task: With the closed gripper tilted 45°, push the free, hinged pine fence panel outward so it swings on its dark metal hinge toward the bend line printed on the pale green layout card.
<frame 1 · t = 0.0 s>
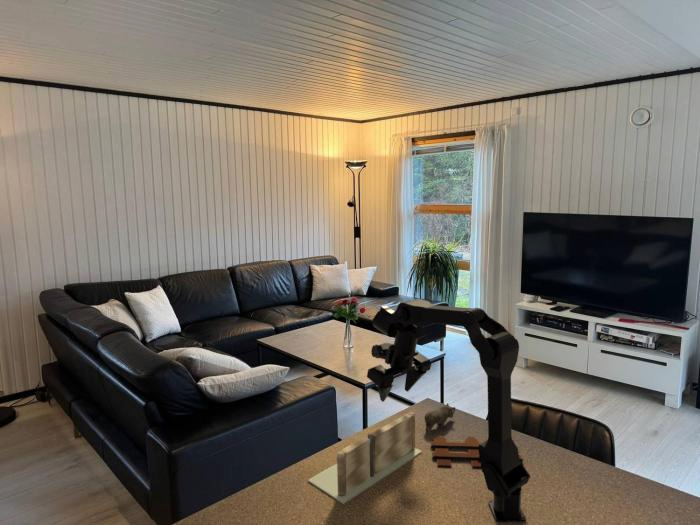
hand: (394, 395, 131), 15 cm above the table, tool pointing down, fingers open, 9 cm apart
layout card: (371, 476, 121), on the table
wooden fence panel: (356, 464, 116), on the layout card
decorative fence: (474, 455, 131), on the table
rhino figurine: (441, 426, 146), on the table
hinged fence panel: (394, 441, 126), point 6 cm above the table, hinge at 0.0°
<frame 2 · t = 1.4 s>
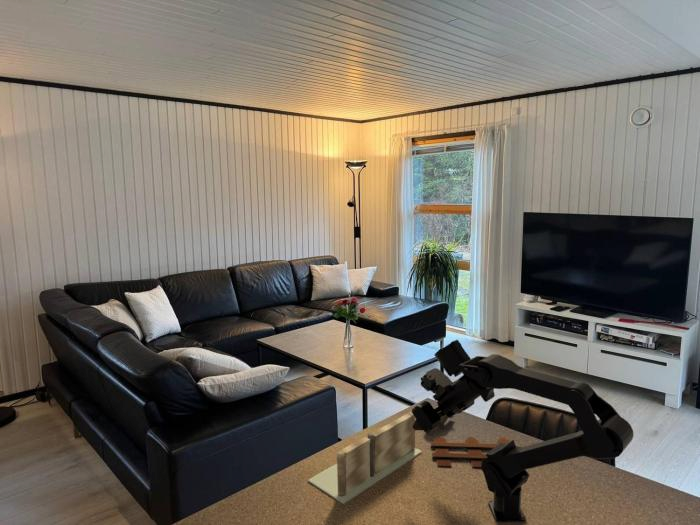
hand: (424, 421, 121), 13 cm above the table, tool tilted 45°, fingers open, 8 cm apart
nothing on the table moved.
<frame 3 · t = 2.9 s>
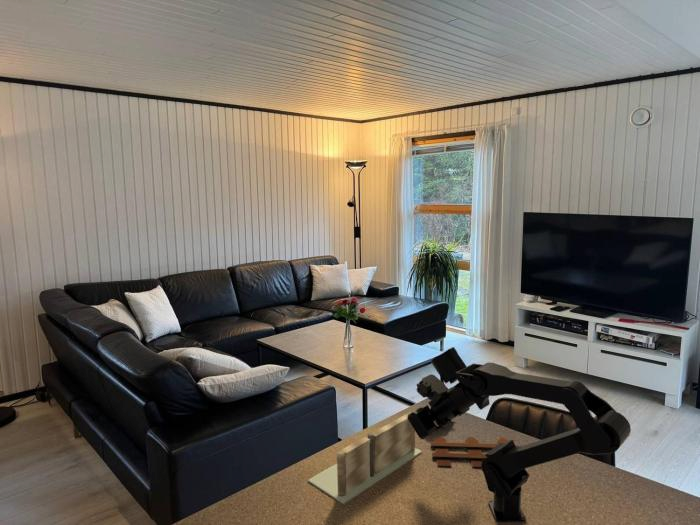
hand: (420, 426, 122), 12 cm above the table, tool tilted 45°, fingers closed
nothing on the table moved.
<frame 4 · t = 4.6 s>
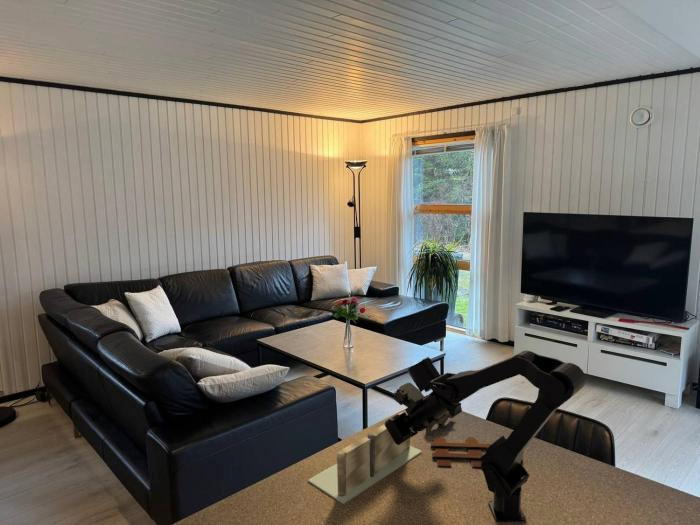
hand: (398, 432, 128), 7 cm above the table, tool tilted 45°, fingers closed, pressing on hinged fence panel
hinged fence panel: (391, 440, 127), point 6 cm above the table, hinge at 5.9°, touching gripper
everything else where it was.
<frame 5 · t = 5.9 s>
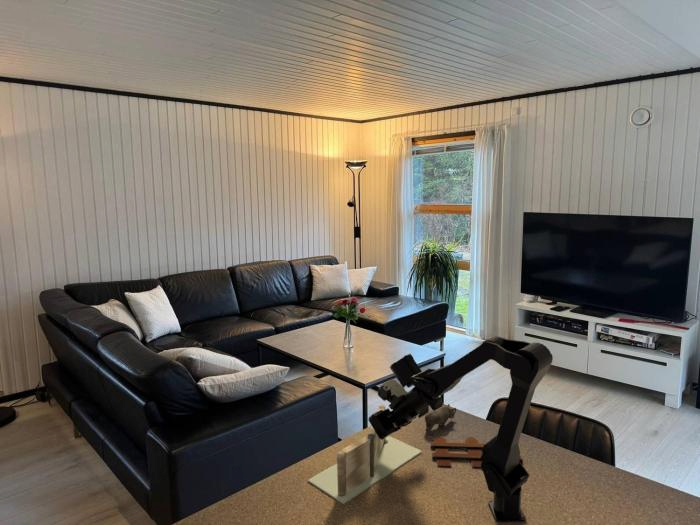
hand: (383, 428, 131), 7 cm above the table, tool tilted 45°, fingers closed
hinged fence panel: (377, 436, 129), point 6 cm above the table, hinge at 31.4°, touching gripper
everything else where it was.
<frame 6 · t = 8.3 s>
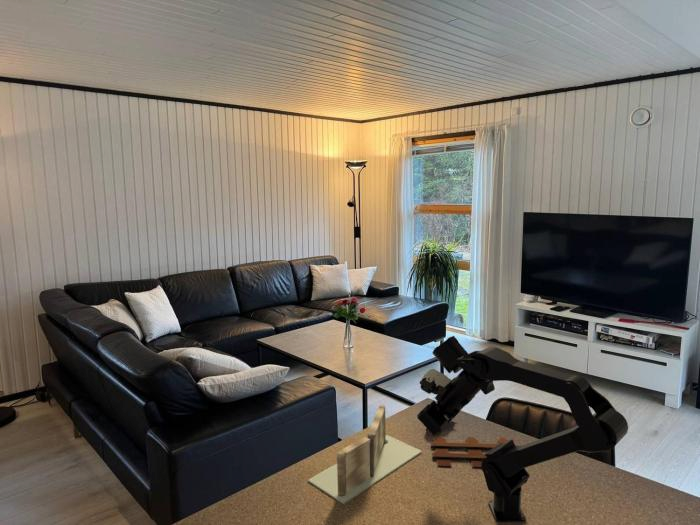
hand: (429, 423, 120), 13 cm above the table, tool tilted 40°, fingers closed
hinged fence panel: (377, 436, 129), point 6 cm above the table, hinge at 31.4°
everything else where it was.
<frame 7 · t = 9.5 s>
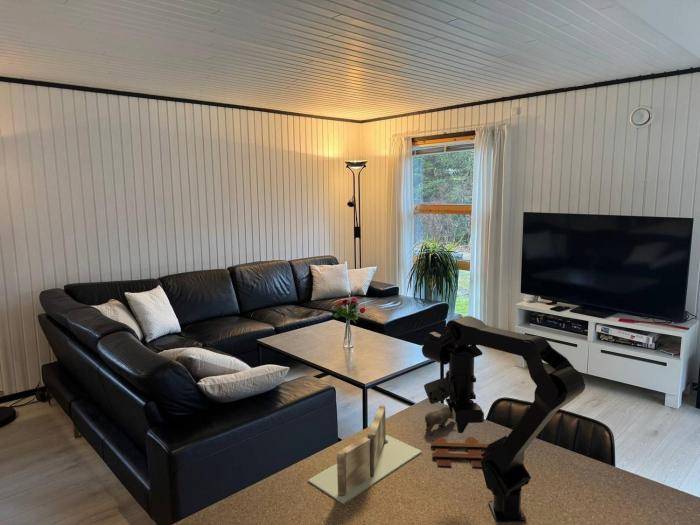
hand: (460, 432, 116), 13 cm above the table, tool pointing down, fingers closed
nothing on the table moved.
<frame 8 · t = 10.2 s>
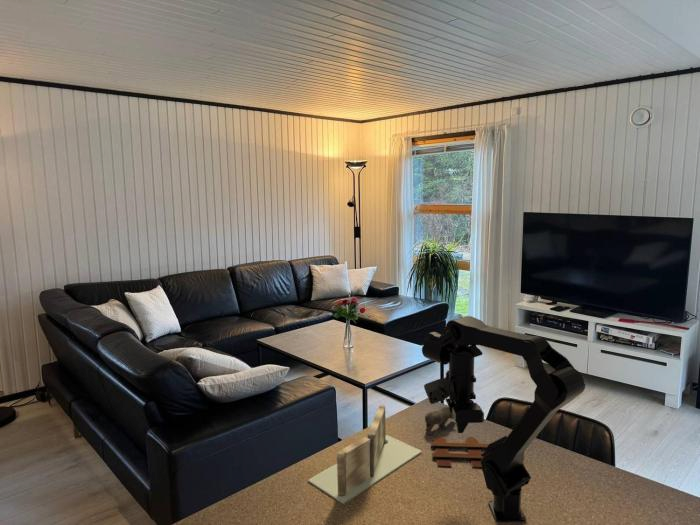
hand: (460, 432, 116), 13 cm above the table, tool pointing down, fingers closed
nothing on the table moved.
at the end: hinged fence panel at +31° (first picture: +0°); decorative fence moved 1.0 cm from its start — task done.
